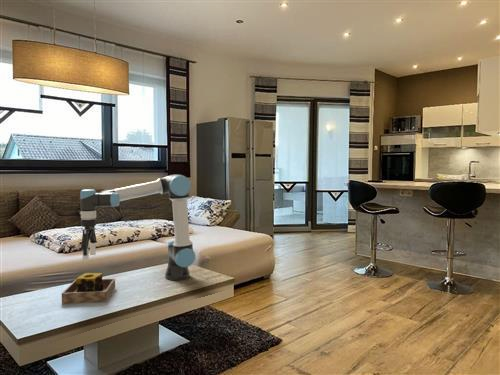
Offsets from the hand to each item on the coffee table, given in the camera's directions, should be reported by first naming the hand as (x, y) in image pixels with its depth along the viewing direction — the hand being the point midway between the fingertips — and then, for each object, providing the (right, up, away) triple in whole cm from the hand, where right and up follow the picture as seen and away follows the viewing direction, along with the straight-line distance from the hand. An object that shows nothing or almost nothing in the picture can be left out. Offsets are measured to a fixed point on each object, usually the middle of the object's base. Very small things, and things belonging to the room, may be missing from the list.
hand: (89, 258), depth 200 cm
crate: (0, -21, +1) cm, 21 cm away
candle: (0, -20, +1) cm, 20 cm away
